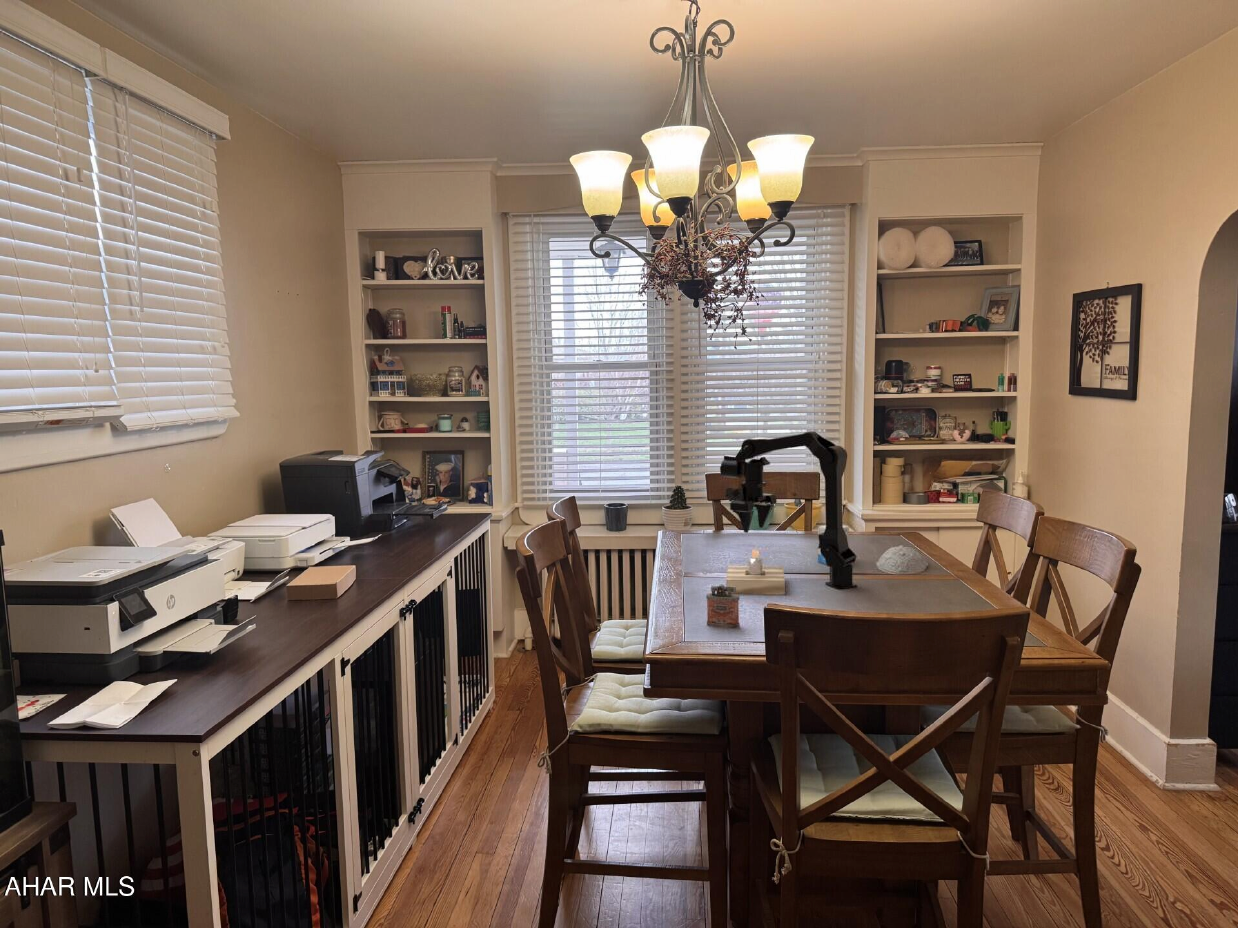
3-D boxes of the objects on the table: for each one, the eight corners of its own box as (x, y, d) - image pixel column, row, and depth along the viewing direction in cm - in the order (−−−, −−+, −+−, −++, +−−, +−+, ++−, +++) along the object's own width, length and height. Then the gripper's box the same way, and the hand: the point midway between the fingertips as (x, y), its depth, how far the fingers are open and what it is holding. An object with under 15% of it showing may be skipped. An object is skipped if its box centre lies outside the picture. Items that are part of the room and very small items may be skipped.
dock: (784, 594, 217) (784, 580, 217) (726, 593, 220) (726, 579, 220) (782, 579, 233) (782, 566, 233) (728, 578, 236) (728, 565, 235)
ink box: (827, 565, 249) (827, 528, 248) (817, 562, 254) (817, 526, 252) (849, 562, 252) (849, 525, 251) (838, 559, 257) (838, 523, 256)
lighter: (705, 626, 192) (704, 586, 191) (708, 622, 195) (708, 582, 194) (737, 629, 189) (737, 588, 188) (740, 624, 192) (740, 584, 191)
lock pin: (758, 565, 234) (758, 558, 234) (751, 565, 234) (751, 558, 234) (758, 556, 246) (758, 549, 245) (752, 556, 246) (752, 549, 246)
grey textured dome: (928, 556, 256) (926, 536, 255) (928, 579, 233) (926, 557, 232) (878, 559, 261) (876, 539, 261) (873, 581, 238) (871, 559, 238)
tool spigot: (765, 587, 225) (765, 559, 224) (753, 588, 224) (752, 561, 223) (758, 584, 229) (758, 557, 228) (746, 585, 228) (745, 558, 227)
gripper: (745, 474, 251) (745, 522, 253) (714, 481, 237) (714, 532, 238) (777, 476, 244) (777, 526, 246) (747, 483, 230) (747, 536, 232)
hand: (753, 529), depth 241 cm, fingers open, 9 cm apart
